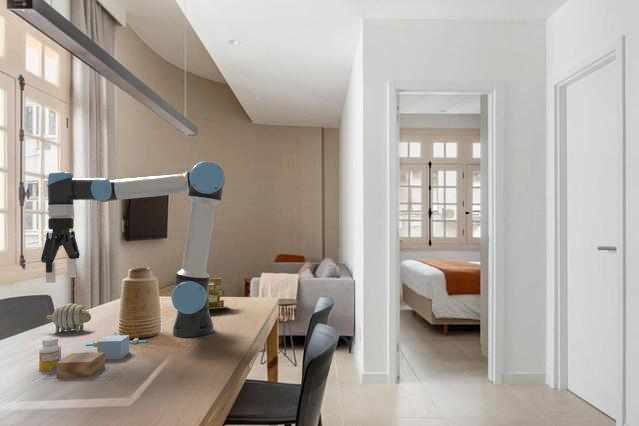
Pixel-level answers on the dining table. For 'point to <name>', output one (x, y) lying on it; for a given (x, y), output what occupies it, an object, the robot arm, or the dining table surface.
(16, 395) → the dining table surface
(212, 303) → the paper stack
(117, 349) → the blue cube
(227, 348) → the dining table surface
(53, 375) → the board
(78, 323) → the toy sheep
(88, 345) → the gear mechanism
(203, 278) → the robot arm
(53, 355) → the supplement bottle
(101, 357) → the base brick
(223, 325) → the dining table surface
